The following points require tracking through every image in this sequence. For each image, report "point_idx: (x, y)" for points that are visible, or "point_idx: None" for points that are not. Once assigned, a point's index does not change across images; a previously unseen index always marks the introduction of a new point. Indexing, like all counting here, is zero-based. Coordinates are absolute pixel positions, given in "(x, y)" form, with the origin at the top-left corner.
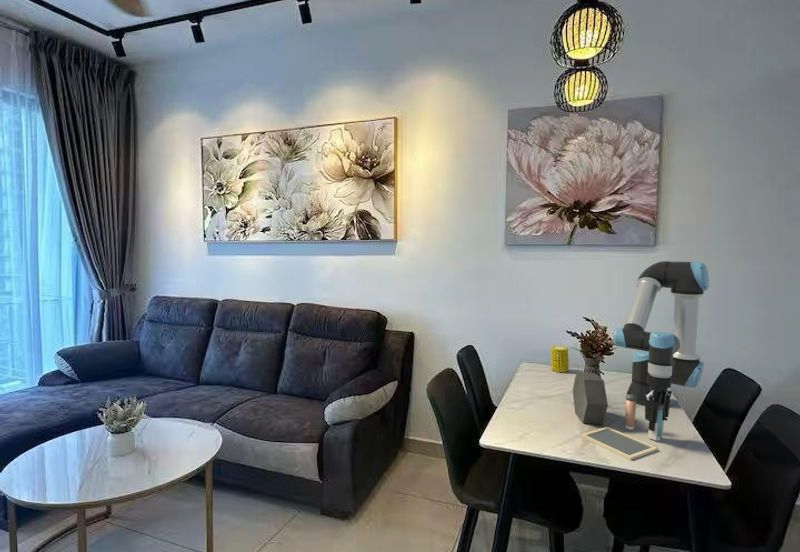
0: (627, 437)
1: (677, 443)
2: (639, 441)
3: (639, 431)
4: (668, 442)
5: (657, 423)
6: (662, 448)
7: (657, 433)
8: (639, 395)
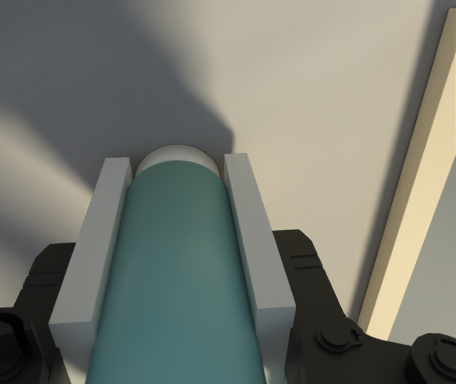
0: (408, 272)
1: (28, 6)
2: (436, 191)
3: None
4: (120, 77)
5: (263, 295)
6: (347, 14)
7: (215, 195)
8: None
